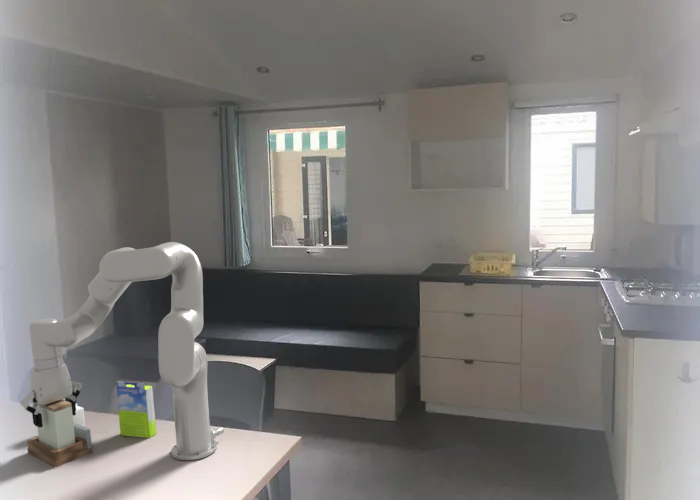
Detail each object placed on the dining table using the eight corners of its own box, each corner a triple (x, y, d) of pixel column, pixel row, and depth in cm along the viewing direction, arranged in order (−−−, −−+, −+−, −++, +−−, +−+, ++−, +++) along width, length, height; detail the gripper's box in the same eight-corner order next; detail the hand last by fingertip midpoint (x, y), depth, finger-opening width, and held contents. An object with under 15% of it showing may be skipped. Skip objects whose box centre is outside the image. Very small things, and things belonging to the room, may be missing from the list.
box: (157, 433, 188) (152, 379, 186) (149, 439, 184) (144, 383, 182) (127, 430, 191) (123, 377, 189) (119, 436, 187) (114, 381, 185)
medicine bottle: (73, 424, 198) (70, 388, 196) (86, 429, 194) (82, 392, 192) (52, 432, 192) (48, 395, 191) (64, 437, 188) (60, 399, 186)
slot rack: (63, 439, 186) (61, 417, 185) (92, 452, 177) (90, 429, 176) (28, 453, 178) (25, 430, 177) (56, 467, 168) (53, 443, 167)
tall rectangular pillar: (56, 441, 182) (51, 395, 180) (76, 449, 175) (71, 402, 174) (39, 447, 178) (34, 401, 176) (59, 456, 171) (53, 408, 170)
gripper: (70, 352, 183) (77, 407, 185) (10, 369, 169) (18, 428, 171) (84, 356, 178) (90, 412, 180) (24, 373, 164) (31, 434, 166)
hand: (55, 420), depth 176 cm, fingers open, 9 cm apart
